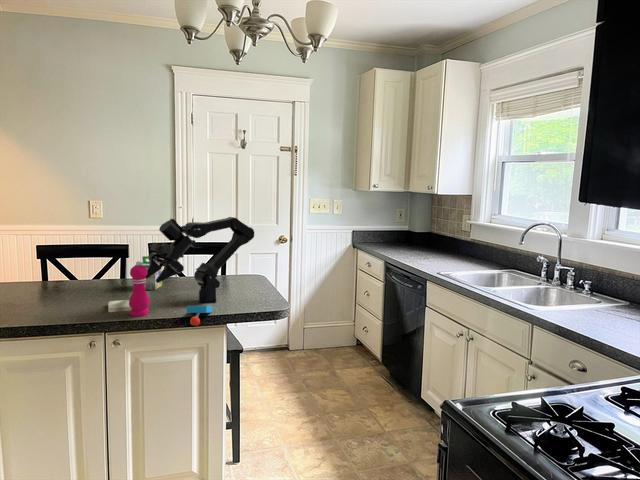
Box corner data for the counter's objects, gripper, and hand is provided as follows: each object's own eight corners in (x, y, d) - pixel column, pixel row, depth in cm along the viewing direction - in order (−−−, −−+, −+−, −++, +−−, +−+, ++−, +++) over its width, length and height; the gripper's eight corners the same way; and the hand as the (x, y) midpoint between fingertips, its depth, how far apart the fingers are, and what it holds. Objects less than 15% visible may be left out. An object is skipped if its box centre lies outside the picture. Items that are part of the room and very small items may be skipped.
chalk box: (162, 286, 217) (162, 254, 215) (155, 290, 208) (154, 258, 206) (142, 285, 217) (142, 253, 215) (134, 290, 208) (134, 257, 206)
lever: (193, 324, 178) (183, 326, 161) (194, 305, 179) (184, 305, 162) (211, 324, 179) (203, 326, 161) (212, 306, 180) (204, 306, 162)
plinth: (135, 303, 187) (135, 299, 187) (137, 310, 178) (137, 306, 178) (108, 305, 183) (108, 301, 183) (108, 312, 174) (108, 308, 174)
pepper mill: (150, 316, 171) (149, 262, 169) (129, 317, 169) (127, 263, 166) (149, 310, 178) (148, 259, 175) (129, 312, 175) (127, 259, 173)
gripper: (152, 232, 183) (125, 262, 177) (176, 237, 170) (147, 270, 164) (171, 250, 190) (145, 280, 183) (195, 256, 177) (168, 289, 170)
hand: (150, 279), depth 175 cm, fingers open, 9 cm apart
